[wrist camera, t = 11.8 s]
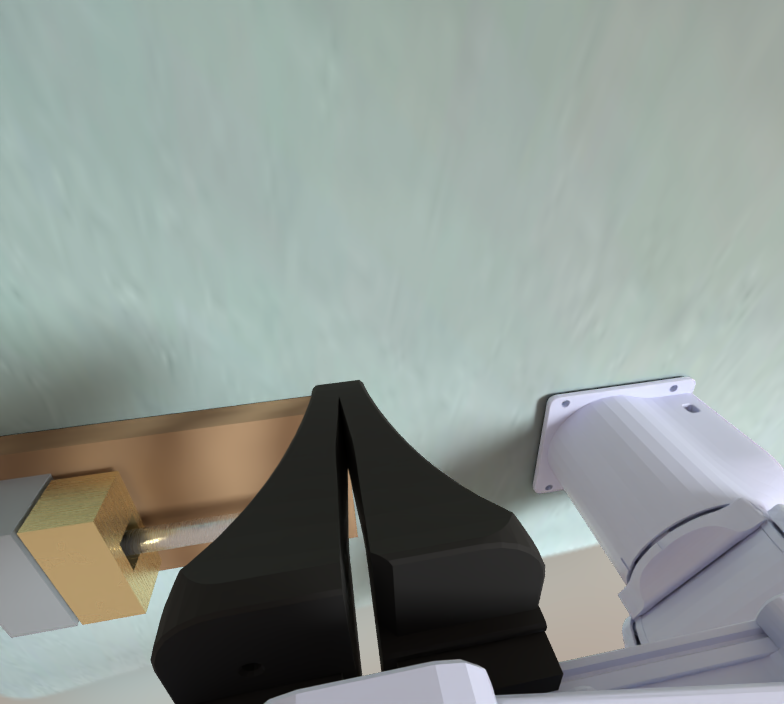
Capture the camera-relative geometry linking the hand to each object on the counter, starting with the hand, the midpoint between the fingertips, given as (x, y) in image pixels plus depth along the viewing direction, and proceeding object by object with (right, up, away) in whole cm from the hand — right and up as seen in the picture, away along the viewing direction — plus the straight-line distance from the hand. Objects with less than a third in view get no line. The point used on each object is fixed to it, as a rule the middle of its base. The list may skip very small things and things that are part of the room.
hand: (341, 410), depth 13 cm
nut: (-13, -7, +10) cm, 18 cm away
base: (-10, -6, +13) cm, 17 cm away
